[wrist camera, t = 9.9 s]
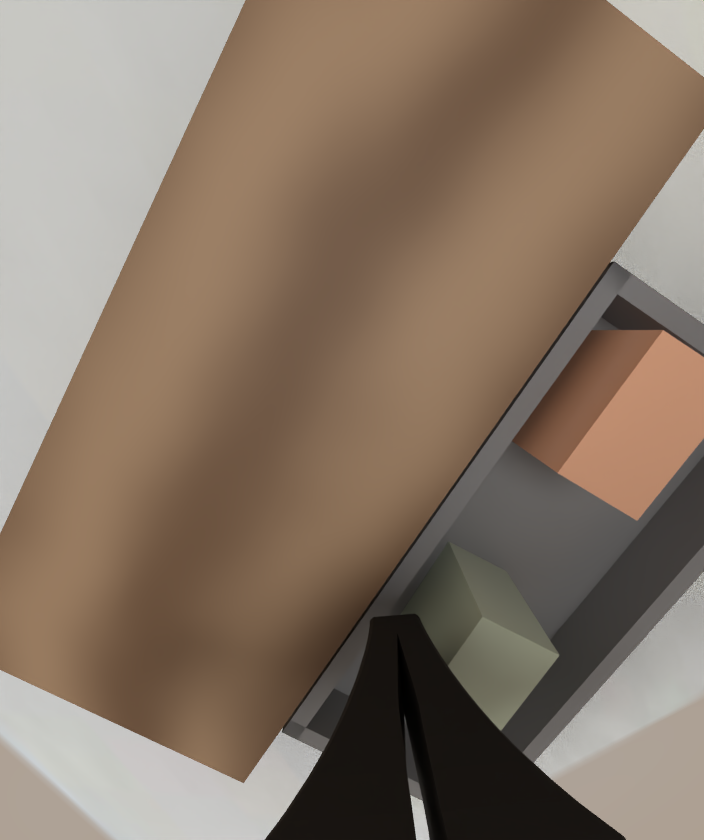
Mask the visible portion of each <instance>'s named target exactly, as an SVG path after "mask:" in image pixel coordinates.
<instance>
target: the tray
mask: <svg viewBox="0 0 704 840" xmlns="http://www.w3.org/2000/svg"><path fill="white" fill-rule="evenodd" d="M591 330H664V331H665V332H667V333H668V334H670V335H671V336H673V337H674V338H676V339H677V340H679V341H680V342H682V343H683V344H685V345H686V346H688V347H689V348H691V349H692V350H694V351H695V352H697V353H698V354H700V355H701V356H703V357H704V324H702V323H701V322H700V321H698V320H697V319H695V318H694V317H692V316H691V315H690V314H688V313H687V312H685V311H684V310H683V309H681V308H680V307H678V306H677V305H675V304H674V303H673V302H671V301H670V300H668V299H667V298H665V297H664V296H663V295H661V294H660V293H658V292H657V291H655V290H654V289H653V288H651V287H650V286H648V285H647V284H646V283H644V282H643V281H641V280H640V279H638V278H637V277H636V276H634V275H633V274H631V273H630V272H628V271H627V270H626V269H624V268H623V267H621V266H620V265H618V264H617V263H616V262H611V263H609V264H608V266H607V267H606V268H605V270H604V271H603V273H602V274H601V276H600V277H599V278H598V280H597V281H596V283H595V284H594V285H593V287H592V288H591V290H590V291H589V293H588V294H587V295H586V297H585V298H584V300H583V301H582V303H581V304H580V305H579V307H578V308H577V310H576V311H575V313H574V314H573V315H572V317H571V318H570V320H569V321H568V322H567V324H566V325H565V327H564V328H563V330H562V331H561V332H560V334H559V335H558V337H557V338H556V340H555V341H554V342H553V344H552V345H551V347H550V348H549V349H548V351H547V352H546V354H545V355H544V357H543V358H542V359H541V361H540V362H539V364H538V365H537V367H536V368H535V369H534V371H533V372H532V374H531V375H530V376H529V378H528V379H527V381H526V382H525V384H524V385H523V386H522V388H521V389H520V391H519V392H518V394H517V395H516V396H515V398H514V399H513V401H512V402H511V403H510V405H509V406H508V408H507V409H506V411H505V412H504V413H503V415H502V416H501V418H500V419H499V421H498V422H497V423H496V425H495V426H494V428H493V429H492V430H491V432H490V433H489V435H488V436H487V438H486V439H485V440H484V442H483V443H482V445H481V446H480V448H479V449H478V450H477V452H476V453H475V455H474V456H473V457H472V459H471V460H470V462H469V463H468V465H467V466H466V467H465V469H464V470H463V472H462V473H461V475H460V476H459V477H458V479H457V480H456V482H455V483H454V485H453V486H452V487H451V489H450V490H449V492H448V493H447V494H446V496H445V497H444V499H443V500H442V502H441V503H440V504H439V506H438V507H437V509H436V510H435V512H434V513H433V514H432V516H431V517H430V519H429V520H428V521H427V523H426V524H425V526H424V527H423V529H422V530H421V531H420V533H419V534H418V536H417V537H416V539H415V540H414V541H413V543H412V544H411V546H410V547H409V548H408V550H407V551H406V553H405V554H404V556H403V557H402V558H401V560H400V561H399V563H398V564H397V566H396V567H395V568H394V570H393V571H392V573H391V574H390V575H389V577H388V578H387V580H386V581H385V583H384V584H383V585H382V587H381V588H380V590H379V591H378V593H377V594H376V595H375V597H374V598H373V600H372V601H371V602H370V604H369V605H368V607H367V608H366V610H365V611H364V612H363V614H362V615H361V617H360V618H359V620H358V621H357V622H356V624H355V625H354V627H353V628H352V629H351V631H350V632H349V634H348V635H347V637H346V638H345V639H344V641H343V642H342V644H341V645H340V647H339V648H338V649H337V651H336V652H335V654H334V655H333V657H332V658H331V659H330V661H329V662H328V664H327V665H326V666H325V668H324V669H323V671H322V672H321V674H320V675H319V676H318V678H317V679H316V681H315V682H314V684H313V685H312V686H311V688H310V689H309V691H308V692H307V693H306V695H305V696H304V698H303V699H302V701H301V702H300V703H299V705H298V706H297V708H296V709H295V711H294V712H293V713H292V715H291V716H290V718H289V719H288V720H287V722H286V723H285V725H284V726H283V730H282V732H283V733H285V734H287V735H289V736H291V737H293V738H295V739H297V740H299V741H301V742H303V743H305V744H307V745H309V746H311V747H313V748H315V749H318V750H320V751H322V752H323V751H324V749H325V747H326V745H327V743H328V741H329V740H330V738H331V736H332V734H333V732H334V729H335V727H336V725H337V723H338V721H339V719H340V717H341V715H342V712H343V710H344V708H345V706H346V703H347V701H348V698H349V695H350V693H351V690H352V688H353V685H354V683H355V680H356V677H357V674H358V671H359V668H360V665H361V661H362V658H363V655H364V651H365V647H366V643H367V639H368V634H369V627H370V620H371V619H372V618H373V617H379V616H391V615H400V614H401V613H402V611H403V610H404V608H405V607H406V605H407V604H408V602H409V601H410V599H411V598H412V596H413V595H414V593H415V592H416V590H417V589H418V587H419V586H420V584H421V583H422V581H423V579H424V578H425V576H426V575H427V573H428V572H429V570H430V569H431V567H432V566H433V564H434V563H435V561H436V560H437V558H438V557H439V555H440V554H441V552H442V551H443V549H444V548H445V546H446V545H447V543H448V542H451V543H453V544H455V545H457V546H459V547H461V548H462V549H464V550H466V551H468V552H470V553H472V554H474V555H476V556H478V557H480V558H482V559H484V560H486V561H488V562H490V563H491V564H493V565H495V566H497V567H499V568H501V569H503V570H505V571H506V572H507V573H508V575H509V576H510V578H511V579H512V581H513V583H514V584H515V586H516V587H517V589H518V591H519V592H520V594H521V595H522V597H523V598H524V600H525V602H526V603H527V605H528V606H529V608H530V609H531V611H532V613H533V614H534V616H535V617H536V619H537V620H538V622H539V624H540V625H541V627H542V628H543V630H544V631H545V633H546V635H547V636H548V638H549V639H550V641H551V643H552V644H553V646H554V647H555V649H556V650H557V652H558V654H559V657H558V658H557V659H556V661H555V662H554V663H553V664H552V666H551V667H550V668H549V670H548V671H547V672H546V673H545V675H544V676H543V677H542V679H541V680H540V681H539V682H538V684H537V685H536V686H535V688H534V689H533V690H532V692H531V693H530V694H529V695H528V697H527V698H526V699H525V701H524V702H523V703H522V704H521V706H520V707H519V708H518V710H517V711H516V712H515V713H514V715H513V716H512V717H511V719H510V720H509V721H508V722H507V724H506V725H505V726H504V728H503V729H502V730H501V732H502V733H503V734H504V735H505V736H506V737H507V738H508V739H509V740H510V741H511V742H512V743H513V744H514V745H515V746H516V747H517V748H518V749H519V750H520V751H521V752H522V753H523V754H524V755H526V756H527V757H528V758H529V759H530V760H531V761H532V762H533V763H534V762H535V760H536V759H537V758H538V757H539V756H540V755H541V754H542V752H543V751H544V750H545V749H546V748H547V747H548V746H549V745H550V743H551V742H552V741H553V740H554V739H555V738H556V737H557V736H558V734H559V733H560V732H561V731H562V730H563V729H564V728H565V727H566V725H567V724H568V723H569V722H570V721H571V720H572V719H573V718H574V716H575V715H576V714H577V713H578V712H579V711H580V710H581V709H582V707H583V706H584V705H585V704H586V703H587V702H588V701H589V700H590V698H591V697H592V696H593V695H594V694H595V693H596V692H597V691H598V689H599V688H600V687H601V686H602V685H603V684H604V683H605V682H606V680H607V679H608V678H609V677H610V676H611V675H612V674H613V673H614V671H615V670H616V669H617V668H618V667H619V666H620V665H621V664H622V662H623V661H624V660H625V659H626V658H627V657H628V656H629V655H630V653H631V652H632V651H633V650H634V649H635V648H636V647H637V646H638V644H639V643H640V642H641V641H642V640H643V639H644V638H645V637H646V635H647V634H648V633H649V632H650V631H651V630H652V629H653V628H654V626H655V625H656V624H657V623H658V622H659V621H660V620H661V619H662V617H663V616H664V615H665V614H666V613H667V612H668V611H669V610H670V608H671V607H672V606H673V605H674V604H675V603H676V602H677V601H678V599H679V598H680V597H681V596H682V595H683V594H684V593H685V592H686V590H687V589H688V588H689V587H690V586H691V585H692V584H693V583H694V581H695V580H696V579H697V578H698V577H699V576H700V575H701V574H702V572H703V571H704V439H703V440H702V441H701V442H700V443H699V445H698V446H697V447H696V448H695V450H694V451H693V452H692V453H691V455H690V456H689V457H688V458H687V460H686V461H685V462H684V463H683V465H682V466H681V467H680V468H679V470H678V471H677V472H676V473H675V475H674V476H673V477H672V478H671V479H670V481H669V482H668V483H667V484H666V486H665V487H664V488H663V489H662V491H661V492H660V493H659V494H658V496H657V497H656V498H655V499H654V501H653V502H652V503H651V504H650V506H649V507H648V508H647V509H646V510H645V512H644V513H643V514H642V515H641V517H640V518H639V519H638V520H635V519H633V518H632V517H630V516H628V515H627V514H625V513H623V512H622V511H620V510H618V509H617V508H615V507H613V506H612V505H610V504H608V503H607V502H605V501H603V500H602V499H600V498H598V497H597V496H595V495H593V494H592V493H590V492H588V491H587V490H585V489H583V488H582V487H580V486H578V485H577V484H575V483H573V482H572V481H570V480H568V479H567V478H565V477H563V476H562V475H560V474H558V473H557V472H555V471H554V470H553V469H551V468H550V467H548V466H547V465H545V464H544V463H543V462H541V461H540V460H538V459H537V458H535V457H534V456H532V455H531V454H530V453H528V452H527V451H525V450H524V449H522V448H521V447H520V446H518V445H517V444H515V443H514V442H512V440H513V439H514V437H515V436H516V434H517V433H518V432H519V430H520V429H521V428H522V426H523V425H524V423H525V422H526V421H527V419H528V418H529V416H530V415H531V414H532V412H533V411H534V409H535V408H536V407H537V405H538V404H539V402H540V401H541V400H542V398H543V397H544V396H545V394H546V393H547V391H548V390H549V389H550V387H551V386H552V384H553V383H554V382H555V380H556V379H557V377H558V376H559V375H560V373H561V372H562V370H563V369H564V368H565V366H566V365H567V364H568V362H569V361H570V359H571V358H572V357H573V355H574V354H575V352H576V351H577V350H578V348H579V347H580V345H581V344H582V343H583V341H584V340H585V338H586V337H587V336H588V334H589V333H590V332H591ZM404 719H405V715H404ZM405 743H406V767H407V775H408V783H409V790H410V795H412V796H414V797H416V798H418V799H420V800H422V801H423V799H422V795H421V790H420V785H419V781H418V776H417V771H416V767H415V762H414V757H413V753H412V748H411V743H410V739H409V734H408V729H407V725H406V720H405Z"/></svg>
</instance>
